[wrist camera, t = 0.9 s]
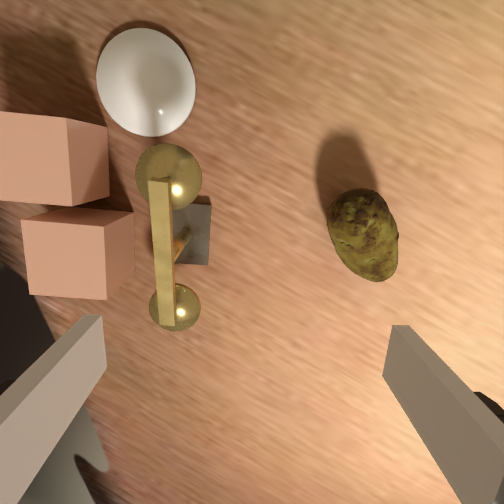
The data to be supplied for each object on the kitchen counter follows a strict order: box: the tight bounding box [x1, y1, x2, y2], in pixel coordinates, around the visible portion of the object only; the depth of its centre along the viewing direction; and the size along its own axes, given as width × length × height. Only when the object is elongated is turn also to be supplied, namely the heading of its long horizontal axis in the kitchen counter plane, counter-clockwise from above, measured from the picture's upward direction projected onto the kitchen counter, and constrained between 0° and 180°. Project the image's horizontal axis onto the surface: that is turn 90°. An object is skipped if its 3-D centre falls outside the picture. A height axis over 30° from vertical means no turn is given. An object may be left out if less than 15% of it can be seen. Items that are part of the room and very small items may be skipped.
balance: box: [135, 143, 211, 331], centre depth 34 cm, size 21×6×15 cm, turn 175°
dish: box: [96, 28, 196, 137], centre depth 36 cm, size 11×11×1 cm
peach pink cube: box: [21, 207, 135, 300], centre depth 37 cm, size 8×8×9 cm
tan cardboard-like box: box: [0, 111, 110, 206], centre depth 34 cm, size 8×8×9 cm
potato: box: [327, 189, 399, 282], centre depth 38 cm, size 8×13×8 cm, turn 11°
